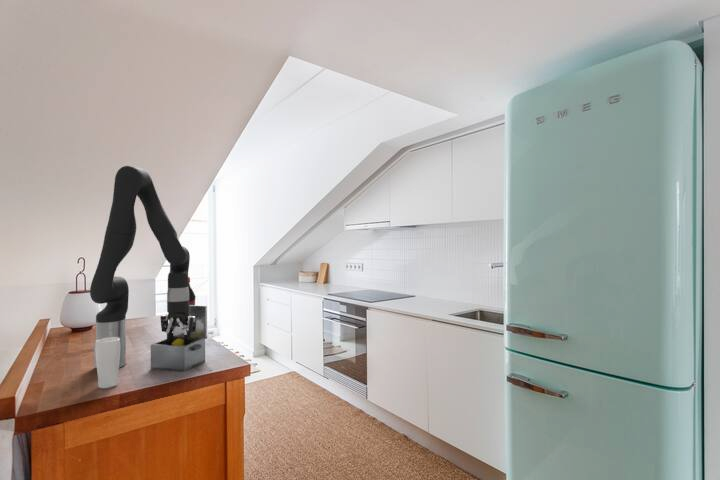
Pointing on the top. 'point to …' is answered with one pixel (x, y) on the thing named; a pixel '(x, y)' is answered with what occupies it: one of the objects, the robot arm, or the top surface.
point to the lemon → (178, 342)
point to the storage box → (177, 354)
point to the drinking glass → (107, 361)
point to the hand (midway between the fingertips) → (178, 343)
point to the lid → (200, 322)
